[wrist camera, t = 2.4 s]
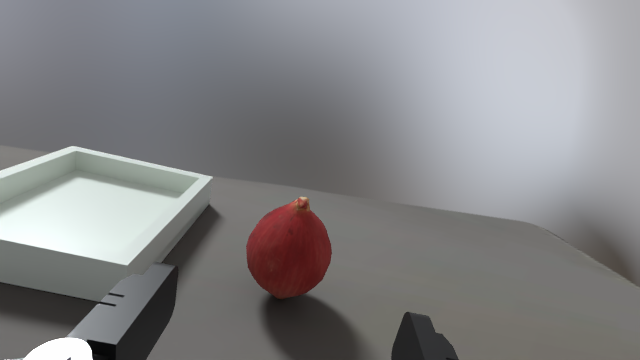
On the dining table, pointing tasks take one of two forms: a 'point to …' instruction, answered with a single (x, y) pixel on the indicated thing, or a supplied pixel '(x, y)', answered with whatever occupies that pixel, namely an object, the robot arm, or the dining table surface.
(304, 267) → the onion
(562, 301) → the dining table surface
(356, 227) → the dining table surface
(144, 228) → the tray
